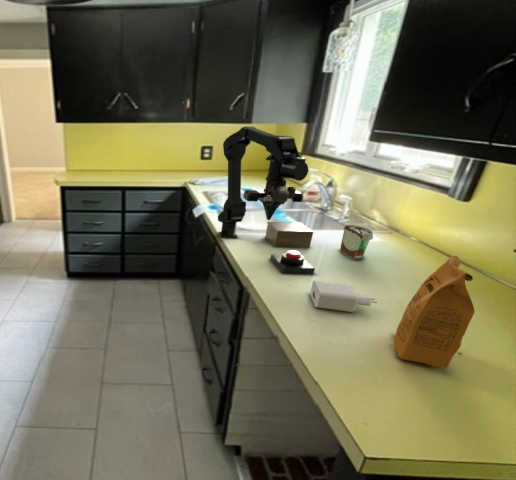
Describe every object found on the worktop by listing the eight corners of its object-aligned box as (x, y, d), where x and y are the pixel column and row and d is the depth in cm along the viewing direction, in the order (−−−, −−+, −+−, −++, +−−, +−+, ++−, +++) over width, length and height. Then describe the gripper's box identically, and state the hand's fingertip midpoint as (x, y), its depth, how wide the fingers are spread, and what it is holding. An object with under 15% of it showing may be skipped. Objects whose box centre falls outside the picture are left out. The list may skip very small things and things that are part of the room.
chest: (265, 237, 152) (267, 224, 150) (297, 237, 152) (300, 224, 149) (274, 246, 142) (277, 233, 139) (309, 247, 141) (313, 233, 139)
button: (284, 254, 125) (285, 249, 124) (296, 254, 125) (297, 250, 124) (289, 259, 121) (290, 254, 120) (301, 259, 121) (302, 254, 120)
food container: (373, 261, 128) (382, 235, 124) (356, 261, 128) (364, 235, 124) (353, 249, 140) (361, 224, 135) (337, 249, 140) (344, 224, 135)
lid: (266, 223, 150) (267, 221, 150) (299, 224, 150) (300, 222, 150) (277, 232, 139) (277, 230, 139) (313, 233, 139) (313, 231, 138)
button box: (270, 259, 130) (272, 249, 128) (298, 260, 130) (300, 249, 128) (282, 273, 119) (284, 262, 117) (313, 274, 119) (316, 263, 117)
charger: (379, 317, 95) (315, 308, 98) (367, 300, 103) (309, 293, 107) (384, 301, 93) (320, 293, 96) (372, 286, 101) (313, 279, 105)
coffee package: (443, 346, 83) (485, 258, 74) (451, 376, 74) (499, 280, 65) (391, 332, 88) (424, 248, 79) (392, 358, 79) (429, 267, 70)
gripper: (256, 179, 117) (248, 226, 123) (315, 180, 116) (304, 227, 122) (246, 173, 127) (239, 216, 133) (300, 174, 126) (291, 217, 132)
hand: (268, 219), depth 130 cm, fingers closed
